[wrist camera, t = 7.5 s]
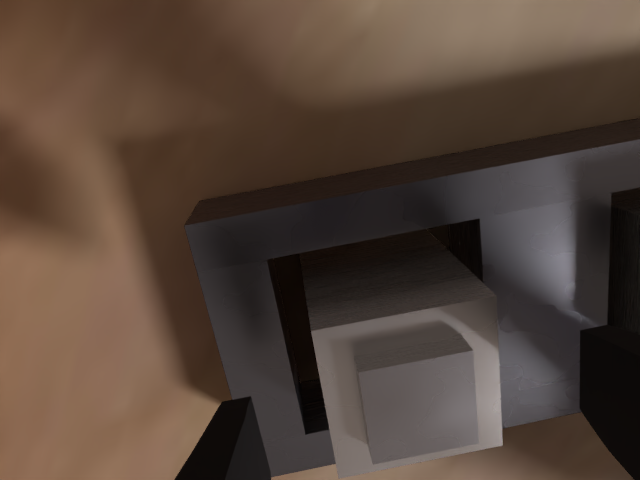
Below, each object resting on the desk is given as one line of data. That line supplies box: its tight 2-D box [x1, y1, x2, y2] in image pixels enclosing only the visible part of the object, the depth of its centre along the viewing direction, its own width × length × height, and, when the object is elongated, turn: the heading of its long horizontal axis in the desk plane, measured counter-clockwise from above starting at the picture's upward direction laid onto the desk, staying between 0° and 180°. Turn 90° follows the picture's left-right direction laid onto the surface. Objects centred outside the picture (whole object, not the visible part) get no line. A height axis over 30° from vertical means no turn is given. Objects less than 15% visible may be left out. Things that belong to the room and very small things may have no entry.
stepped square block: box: [299, 229, 503, 478], centre depth 13 cm, size 4×4×6 cm
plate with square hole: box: [184, 118, 640, 477], centre depth 14 cm, size 18×8×2 cm, turn 99°
